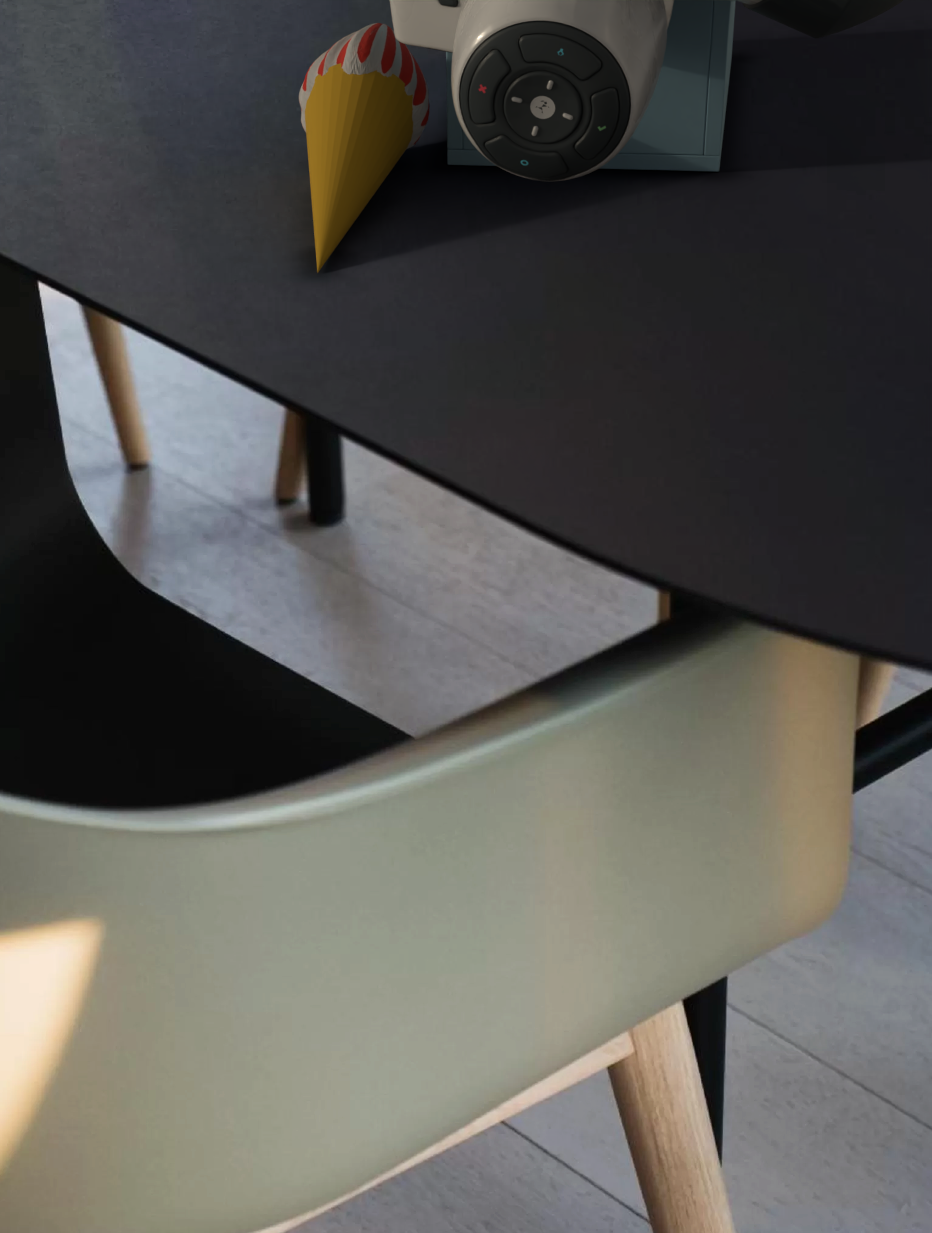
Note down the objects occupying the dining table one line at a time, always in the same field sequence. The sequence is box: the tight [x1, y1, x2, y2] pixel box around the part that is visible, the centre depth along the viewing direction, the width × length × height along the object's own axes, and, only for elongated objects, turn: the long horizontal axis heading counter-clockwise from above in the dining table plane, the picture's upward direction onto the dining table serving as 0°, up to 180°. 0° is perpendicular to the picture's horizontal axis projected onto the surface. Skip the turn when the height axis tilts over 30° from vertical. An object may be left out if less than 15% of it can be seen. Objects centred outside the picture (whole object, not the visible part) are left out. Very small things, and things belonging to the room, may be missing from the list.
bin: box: [445, 0, 737, 173], centre depth 113 cm, size 14×16×9 cm
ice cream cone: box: [298, 22, 430, 274], centre depth 108 cm, size 6×6×20 cm
